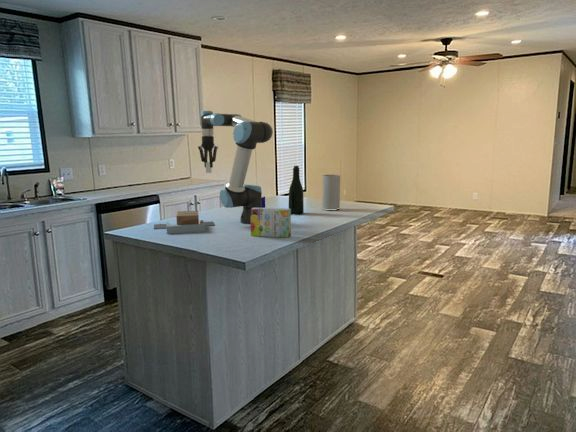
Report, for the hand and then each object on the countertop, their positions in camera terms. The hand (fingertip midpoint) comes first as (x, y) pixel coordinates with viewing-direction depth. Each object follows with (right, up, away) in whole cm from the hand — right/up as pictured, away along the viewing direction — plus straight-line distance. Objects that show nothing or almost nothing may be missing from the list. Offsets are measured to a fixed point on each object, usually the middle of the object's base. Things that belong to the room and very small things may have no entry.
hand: (208, 172), depth 285 cm
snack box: (+42, -39, -48) cm, 75 cm away
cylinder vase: (+83, -24, +35) cm, 93 cm away
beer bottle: (+57, -27, +19) cm, 66 cm away
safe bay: (-7, -36, -34) cm, 50 cm away
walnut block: (-7, -36, -29) cm, 47 cm away
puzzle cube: (+29, -25, +31) cm, 49 cm away
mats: (-11, -34, -21) cm, 41 cm away
